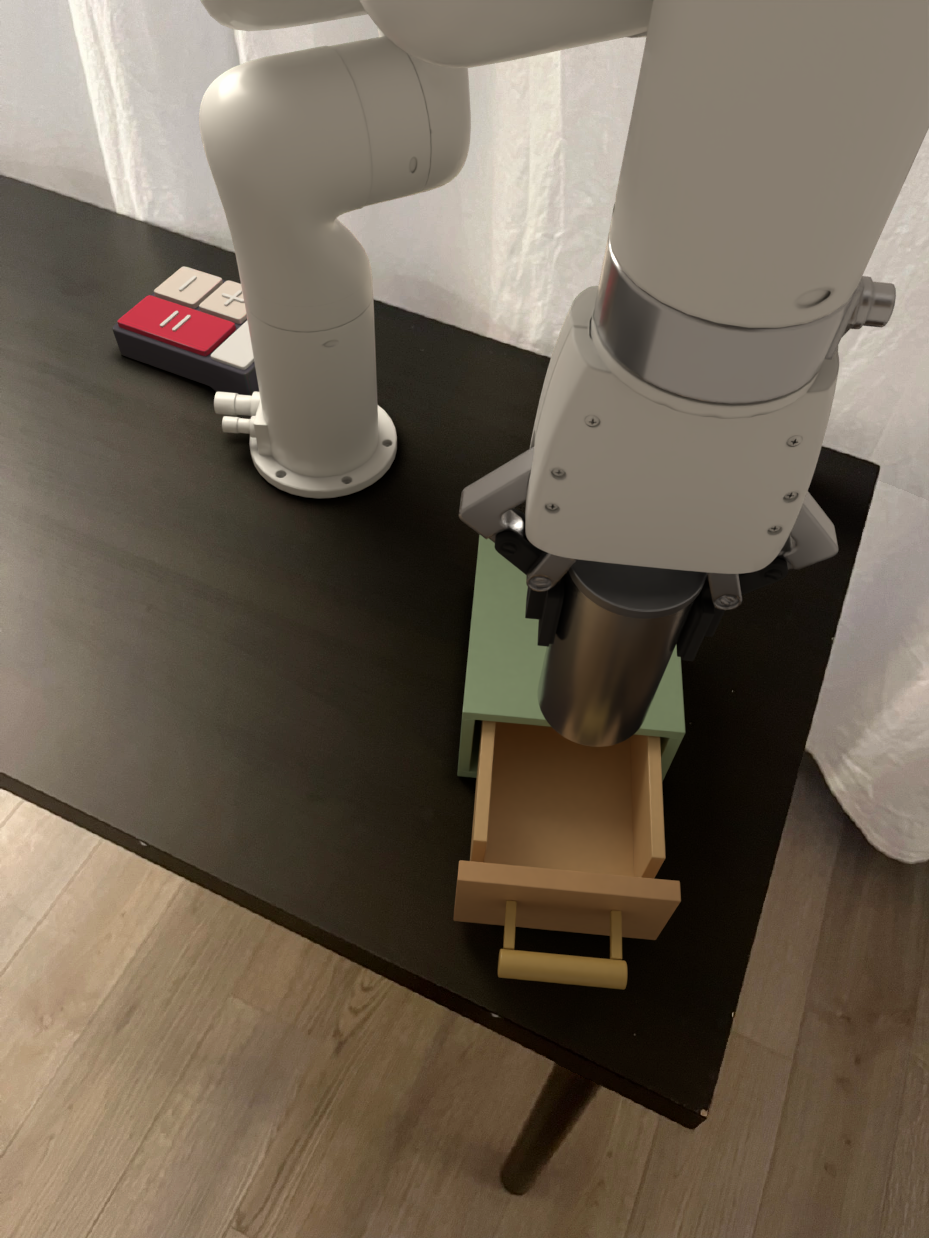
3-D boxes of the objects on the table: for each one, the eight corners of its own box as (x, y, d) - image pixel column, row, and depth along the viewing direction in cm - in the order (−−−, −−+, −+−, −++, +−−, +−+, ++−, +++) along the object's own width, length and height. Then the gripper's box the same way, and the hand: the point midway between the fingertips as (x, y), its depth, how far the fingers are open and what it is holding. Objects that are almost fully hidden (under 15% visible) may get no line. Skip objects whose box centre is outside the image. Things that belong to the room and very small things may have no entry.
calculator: (181, 259, 92) (313, 300, 88) (191, 298, 96) (319, 339, 91) (106, 321, 86) (244, 368, 82) (120, 360, 90) (253, 407, 85)
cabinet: (656, 795, 65) (685, 732, 58) (457, 776, 65) (462, 712, 58) (648, 611, 74) (673, 538, 67) (474, 595, 74) (480, 521, 67)
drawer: (658, 1013, 56) (685, 980, 50) (446, 993, 56) (450, 958, 50) (648, 732, 67) (669, 680, 61) (471, 716, 67) (476, 662, 61)
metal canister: (532, 742, 48) (565, 603, 39) (537, 644, 52) (568, 493, 42) (651, 754, 48) (713, 618, 38) (648, 655, 52) (704, 507, 42)
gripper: (963, 258, 32) (788, 583, 47) (455, 209, 32) (439, 548, 47) (1019, 411, 28) (806, 716, 43) (432, 353, 28) (422, 677, 43)
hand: (614, 626), depth 45 cm, fingers closed on metal canister, 5 cm apart
